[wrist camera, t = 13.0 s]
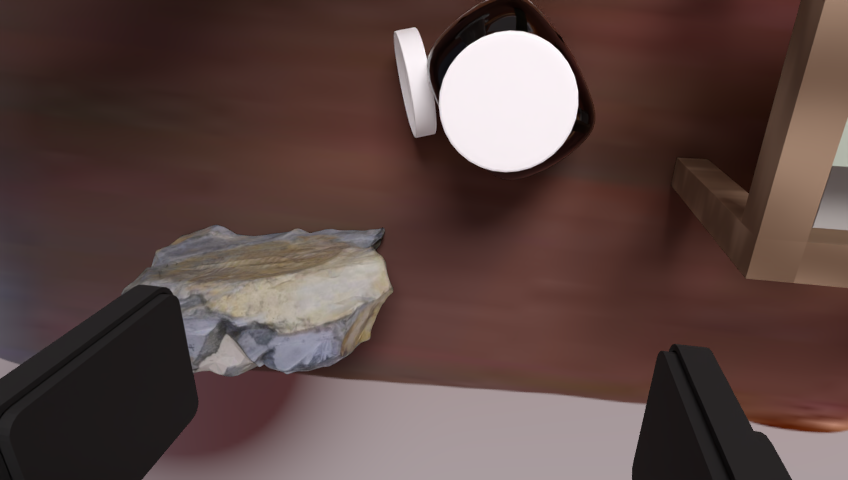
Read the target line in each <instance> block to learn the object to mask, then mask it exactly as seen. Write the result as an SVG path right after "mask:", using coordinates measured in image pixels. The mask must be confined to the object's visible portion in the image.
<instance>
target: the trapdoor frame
mask: <svg viewBox="0 0 848 480" xmlns="http://www.w3.org/2000/svg"><path fill="white" fill-rule="evenodd" d="M847 119H848V0H801V2H800V6H799V10H798V13H797V17H796V21H795V24H794V28H793V32H792V36H791V39H790V43H789V47H788V50H787V54H786V58H785V61H784V65H783V69H782V73H781V76H780V80H779V84H778V87H777V91H776V95H775V99H774V102H773V106H772V110H771V113H770V117H769V121H768V124H767V128H766V132H765V136H764V139H763V143H762V147H761V150H760V154H759V158H758V162H757V165H756V169H755V173H754V176H753V180H752V184H751V188H750V191H749V193H748V192H746V191H745V190H744V189H743V188H742V187H740V186H739V185H738V184H737V183H736V182H734V181H733V180H732V179H731V178H730V177H728V176H727V175H726V174H725V173H724V172H722V171H721V170H720V169H719V168H718V167H716V166H715V165H714V164H713V163H712V162H710V161H709V160H708V159H694V158H677V159H676V164H675V168H674V173H673V178H672V183H671V186H672V187H673V188H674V190H675V191H676V192H677V193H678V195H679V196H680V197H681V198H682V200H683V201H684V202H685V203H686V205H687V206H688V207H689V208H690V210H691V211H692V212H693V213H694V215H695V216H696V217H697V218H698V220H699V221H700V222H701V223H702V225H703V226H704V227H705V228H706V230H707V231H708V232H709V233H710V235H711V236H712V237H713V238H714V240H715V241H716V242H717V243H718V245H719V246H720V247H721V248H722V250H723V251H724V252H725V253H726V255H727V256H728V257H729V258H730V260H731V261H732V262H733V263H734V265H735V266H736V267H737V268H738V270H739V271H740V272H741V273H742V275H743V276H744V277H745V278H746V279H756V280H767V281H778V282H789V283H800V284H811V285H822V286H833V287H844V288H848V230H838V229H825V228H812V225H813V222H814V219H815V216H816V213H817V210H818V207H819V204H820V201H821V198H822V195H823V192H824V189H825V186H826V183H827V180H828V177H829V173H830V170H831V167H832V164H833V161H834V158H835V155H836V152H837V149H838V146H839V143H840V140H841V137H842V134H843V131H844V128H845V125H846V122H847Z"/></svg>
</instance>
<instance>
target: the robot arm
mask: <svg viewBox="0 0 848 480" xmlns="http://www.w3.org/2000/svg"><path fill="white" fill-rule="evenodd" d="M197 408H198V396H197V391H196V385H195V380H194V375H193V370H192V364H191V359H190V354H189V349H188V344H187V338H186V333H185V328H184V323H183V317H182V312H181V307H180V302H179V299H178V298H177V297H176V296H174V295H173V293H172V291H171V290H170V289H169V288H167V287H160V286H151V285H137V286H135V287H133V288H132V289H130V290H129V291H127V292H126V293H124V294H123V295H121V296H120V297H119V298H117V299H116V300H114V301H113V302H111V303H110V304H108V305H107V306H105V307H104V308H103V309H101V310H100V311H98V312H97V313H95V314H94V315H92V316H91V317H89V318H88V319H87V320H85V321H84V322H82V323H81V324H79V325H78V326H76V327H75V328H73V329H72V330H71V331H69V332H68V333H66V334H65V335H63V336H62V337H60V338H59V339H58V340H56V341H55V342H53V343H52V344H50V345H49V346H47V347H46V348H44V349H43V350H42V351H40V352H39V353H37V354H36V355H34V356H33V357H31V358H30V359H28V360H27V361H26V362H24V363H23V364H21V365H20V366H18V367H17V368H16V369H14V370H12V371H11V372H10V373H8V374H7V375H5V376H4V377H2V378H1V379H0V480H142V479H143V477H144V476H145V475H146V474H147V472H148V471H149V470H150V469H151V468H152V467H153V465H154V464H155V463H156V462H157V461H158V460H159V458H160V457H161V456H162V455H163V454H164V452H165V451H166V450H167V449H168V448H169V446H170V445H171V444H172V443H173V442H174V440H175V439H176V438H177V437H178V436H179V434H180V433H181V432H182V431H183V429H184V428H185V427H186V426H187V425H188V424H189V423H190V421H191V420H192V419H193V417H194V416H195V414H196V411H197ZM632 480H792V479H791V477H790V475H789V474H788V472H787V470H786V468H785V466H784V464H783V463H782V461H781V459H780V457H779V455H778V454H777V452H776V450H775V448H774V446H773V445H772V443H771V442H770V440H769V439H768V438H767V436H766V435H764V434H763V433H761V432H756V431H753V429H752V427H751V425H750V423H749V421H748V419H747V417H746V415H745V414H744V412H743V410H742V408H741V406H740V404H739V402H738V400H737V398H736V397H735V395H734V393H733V391H732V389H731V387H730V385H729V383H728V381H727V380H726V378H725V376H724V374H723V372H722V370H721V368H720V366H719V364H718V363H717V361H716V359H715V357H714V355H713V353H712V351H711V350H710V349H709V348H705V347H696V346H687V345H678V344H673V345H672V346H671V348H670V350H669V352H667V351H660V352H659V354H658V357H657V360H656V365H655V369H654V374H653V378H652V382H651V387H650V391H649V396H648V400H647V404H646V409H645V413H644V418H643V422H642V427H641V431H640V435H639V440H638V444H637V449H636V453H635V457H634V462H633V467H632Z"/></svg>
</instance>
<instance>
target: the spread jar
mask: <svg viewBox="0 0 848 480" xmlns="http://www.w3.org/2000/svg"><path fill="white" fill-rule="evenodd" d="M394 47H395V55H396V62H397V68H398V74H399V80H400V85H401V90H402V95H403V99H404V104H405V108H406V112H407V116H408V120H409V124H410V127H411V130H412V133H413V135H414V137H415V138H418V137H423V136H428V135H432V134H435V133H436V127H437V121H436V108H435V100H436V102H437V104H438V107H439V112H440V120H441V123H442V126H443V129H444V132H445V134H446V135H447V137H448V139H449V141H450V143H451V144H452V145H453V146H454V148H455V149H456V150H457V151H458V152H459V153H460V154H461V155H462V156H463V157H464V158H466V159H467V160H468V161H470V162H472V163H473V164H475V165H477V166H479V167H481V168H485V169H486V170H487V171H488V172H490V173H491V174H493V175H494V176H496V177H499V178H501V179H505V180H517V179H522V178H525V177H528V176H531V175H534V174H536V173H539V172H541V171H543V170H545V169H547V168H549V167H551V166H553V165H554V164H556V163H558V162H559V161H561V160H562V159H564V158H565V157H567V156H568V155H569V154H571V153H572V152H573V151H574V150H575V149H577V148H578V147H579V146H580V145H581V144H582V143H583V142H584V141H585V140H586V139H587V137H588V136H589V135H590V133H591V132H592V130H593V127H594V124H595V110H594V105H593V101H592V98H591V95H590V92H589V90H588V87H587V85H586V82H585V80H584V77H583V75H582V73H581V71H580V68H579V66H578V64H577V62H576V59H575V58H574V56H573V55H572V53H571V52H570V50H569V48H568V47H567V45H566V44H565V42H564V41H563V39H562V38H561V36H560V35H559V34H558V32H557V31H556V30H555V28H554V27H553V26H552V25H551V23H550V22H549V21H548V20H547V19H546V17H545V16H544V15H543V14H542V13H541V11H540V10H539V9H538V8H537V7H536V6H535V5H534V4H533V3H532V2H530V1H529V0H486V1H484V2H482V3H480V4H478V5H477V6H475V7H473V8H472V9H470V10H469V11H468V12H466V13H465V14H463V15H462V16H461V17H460V18H458V19H457V20H456V21H455V22H454V23H453V24H452V25H451V26H450V27H449V28H448V29H447V30H446V31H445V32H444V33H443V34H442V35H441V36H440V37H439V39H438V40H437V41H436V42H435V44H434V45H433V47H432V49H431V51H430V53H429V56H428V60H427V57H426V53H425V49H424V46H423V43H422V39H421V37H420V34H419V32H418V30H417V28H416V27H413V28H408V29H403V30H398V31H394ZM434 97H435V100H434Z"/></svg>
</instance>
